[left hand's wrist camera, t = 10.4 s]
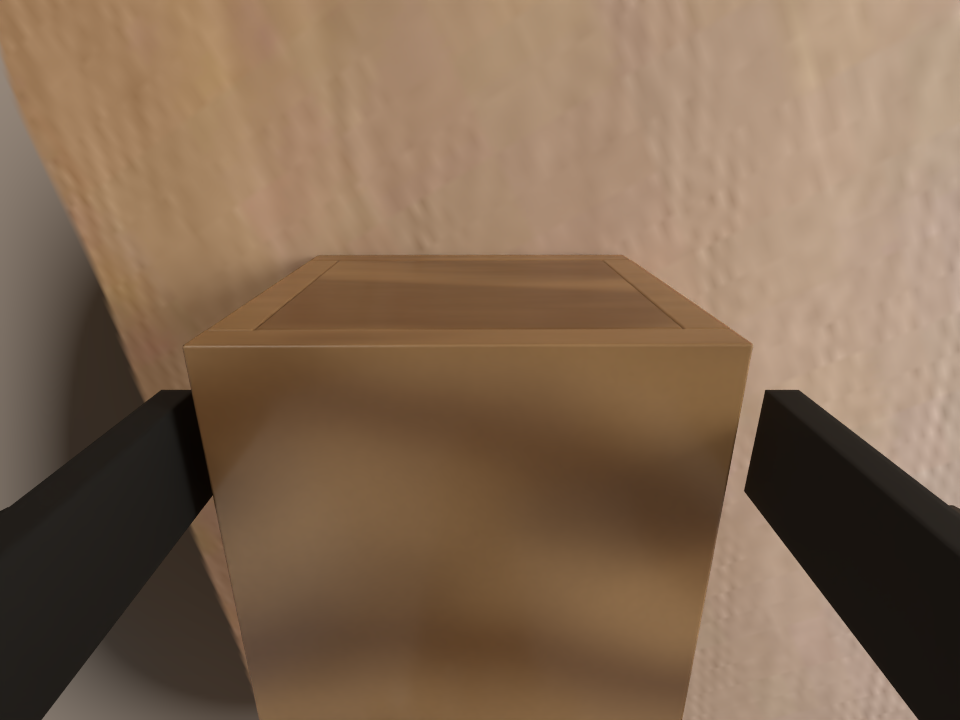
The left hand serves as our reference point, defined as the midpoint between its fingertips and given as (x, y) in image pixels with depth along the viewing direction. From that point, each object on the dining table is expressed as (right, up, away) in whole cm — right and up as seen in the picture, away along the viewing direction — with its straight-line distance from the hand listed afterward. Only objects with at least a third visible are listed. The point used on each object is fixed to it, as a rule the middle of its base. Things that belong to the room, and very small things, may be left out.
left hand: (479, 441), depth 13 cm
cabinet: (0, -2, +10) cm, 10 cm away
